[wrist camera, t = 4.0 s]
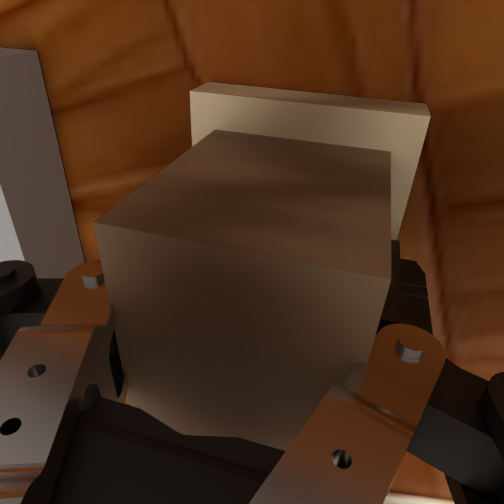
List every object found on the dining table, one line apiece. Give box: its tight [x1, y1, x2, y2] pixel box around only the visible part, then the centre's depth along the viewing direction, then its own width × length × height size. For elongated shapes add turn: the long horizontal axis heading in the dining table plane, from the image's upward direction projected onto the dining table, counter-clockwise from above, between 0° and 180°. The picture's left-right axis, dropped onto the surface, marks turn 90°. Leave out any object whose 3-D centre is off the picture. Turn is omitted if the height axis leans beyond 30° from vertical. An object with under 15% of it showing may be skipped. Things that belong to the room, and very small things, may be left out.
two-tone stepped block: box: [93, 82, 431, 451], centre depth 11 cm, size 6×8×8 cm
